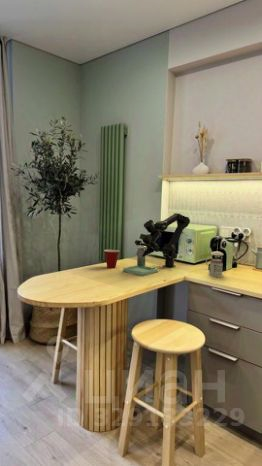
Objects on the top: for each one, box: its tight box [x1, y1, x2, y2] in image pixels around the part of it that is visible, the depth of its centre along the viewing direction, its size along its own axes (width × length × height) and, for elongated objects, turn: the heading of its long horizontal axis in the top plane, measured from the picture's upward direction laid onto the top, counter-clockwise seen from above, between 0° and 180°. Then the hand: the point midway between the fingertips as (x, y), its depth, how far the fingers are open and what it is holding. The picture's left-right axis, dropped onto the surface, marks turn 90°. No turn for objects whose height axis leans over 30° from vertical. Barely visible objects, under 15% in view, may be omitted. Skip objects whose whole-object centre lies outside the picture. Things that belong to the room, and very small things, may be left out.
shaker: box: [136, 245, 147, 266], centre depth 206 cm, size 5×5×13 cm
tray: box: [122, 264, 159, 277], centre depth 208 cm, size 16×16×2 cm
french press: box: [205, 236, 224, 278], centre depth 205 cm, size 10×12×25 cm
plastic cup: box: [103, 249, 121, 269], centre depth 216 cm, size 11×11×12 cm
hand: (139, 255), depth 206 cm, fingers closed on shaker, 5 cm apart
